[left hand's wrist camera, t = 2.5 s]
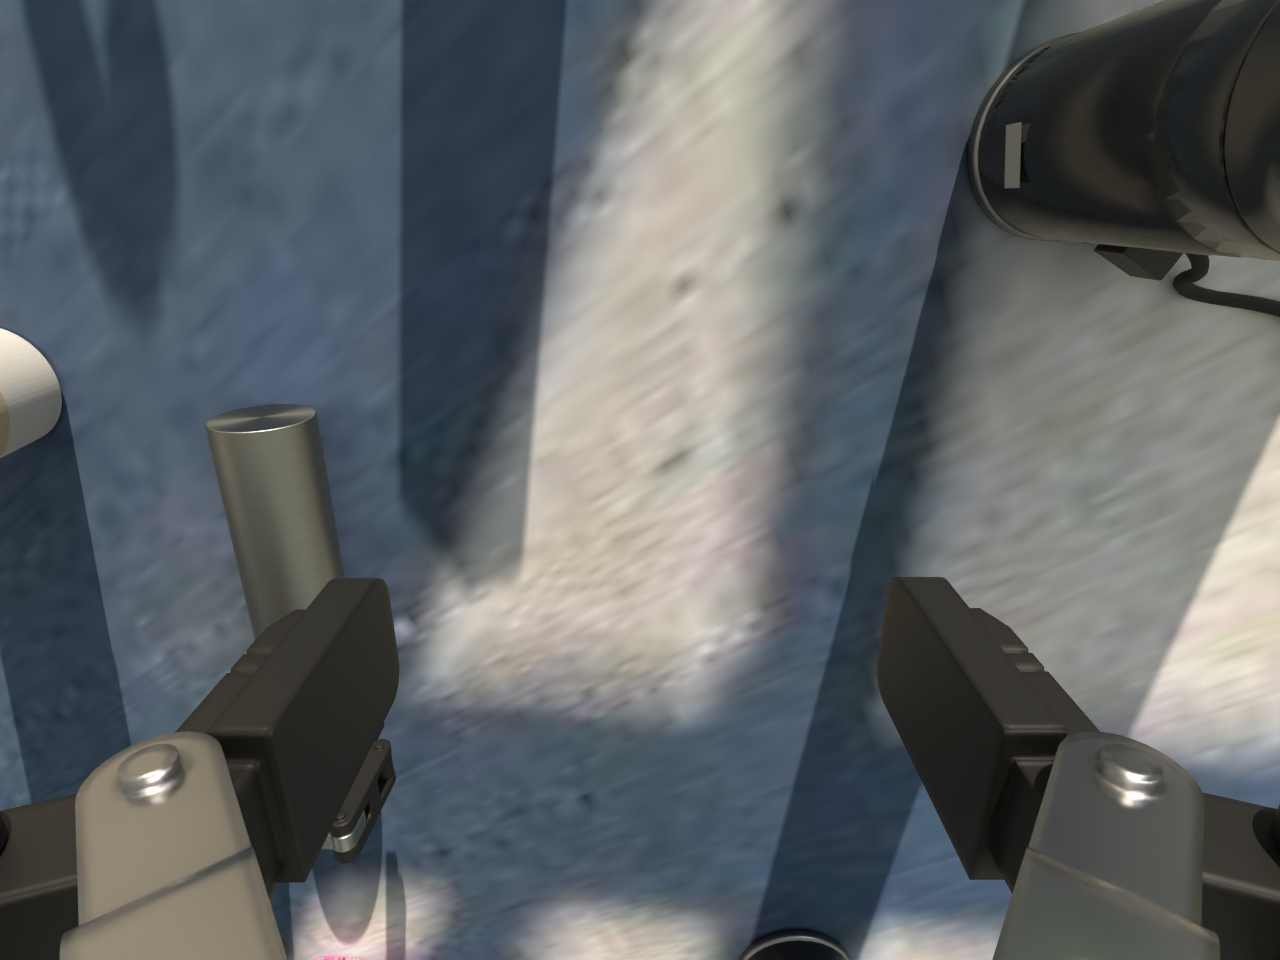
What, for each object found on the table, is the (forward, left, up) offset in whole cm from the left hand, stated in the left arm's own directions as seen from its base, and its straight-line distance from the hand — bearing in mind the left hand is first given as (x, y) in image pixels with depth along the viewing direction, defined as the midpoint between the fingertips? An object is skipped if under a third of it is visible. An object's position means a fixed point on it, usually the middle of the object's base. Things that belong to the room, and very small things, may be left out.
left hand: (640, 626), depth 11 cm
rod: (+10, +24, -30) cm, 40 cm away
